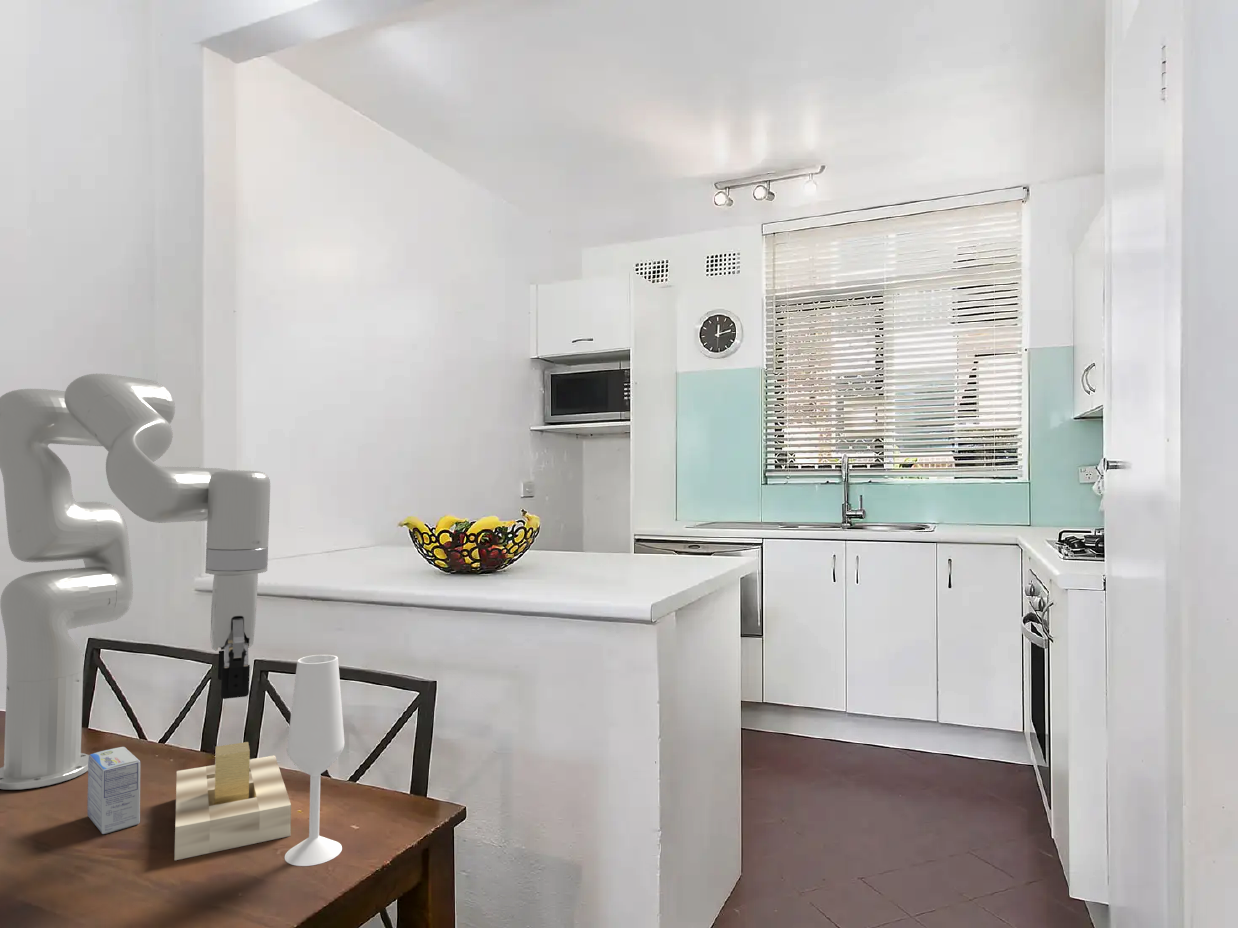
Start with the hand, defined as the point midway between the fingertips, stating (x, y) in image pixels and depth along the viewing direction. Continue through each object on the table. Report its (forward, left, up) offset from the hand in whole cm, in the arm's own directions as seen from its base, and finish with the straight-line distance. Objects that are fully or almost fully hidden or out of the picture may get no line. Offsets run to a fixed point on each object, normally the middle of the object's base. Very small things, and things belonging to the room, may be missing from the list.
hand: (232, 687), depth 101 cm
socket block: (-2, 0, -18) cm, 18 cm away
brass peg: (0, 0, -18) cm, 18 cm away
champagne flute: (+14, +9, -18) cm, 25 cm away
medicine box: (-8, -14, -19) cm, 24 cm away
